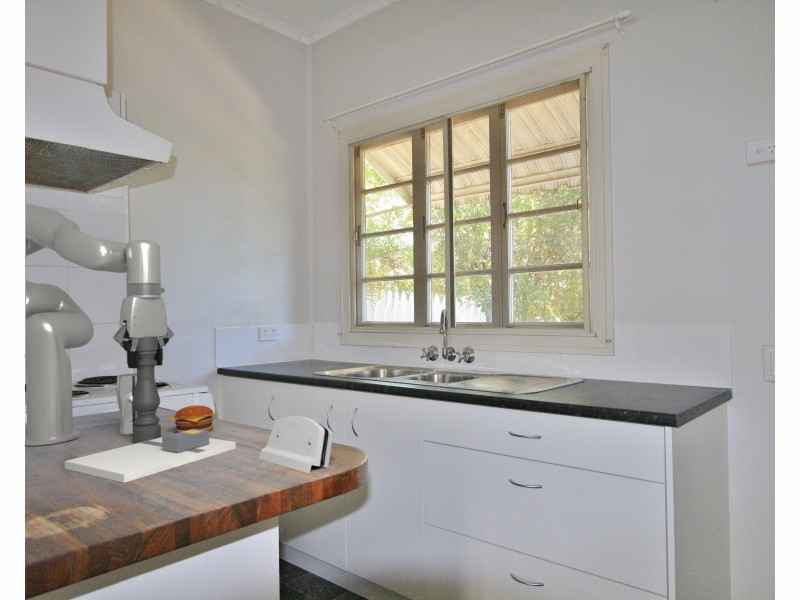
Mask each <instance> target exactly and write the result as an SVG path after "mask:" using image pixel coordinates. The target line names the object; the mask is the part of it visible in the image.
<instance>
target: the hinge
mask: <svg viewBox="0 0 800 600" xmlns="http://www.w3.org/2000/svg"><path fill="white" fill-rule="evenodd" d="M333 436H334V432H333V430H331V429H330V427H328V426H326V425H325V424H323V423H322V422H320V421H318V420H316V419H313V418H311V417H310V418H309V417H305V416H300V415H291V416H284V417H283V416H282V417H281V418H278V419H276V420H275V421H274V423H273V426H272V429H271V431H270V434H269V437H268V440H267V443H266V446H264V447H262V448H261V450H260V453H259V457H258V460H261V461H265V462H268V463H271V464H275V465H279V466H282V467H284V468H285V467H286V468H288V469H292V470H295V471H300V472H303V473H306V474H308V473H309V474H310V472H311V470H312V466H315V467H322V468H328V467H329V466H330V459H331V458H330V457H331V451H332V443H333V438H334V437H333Z"/></svg>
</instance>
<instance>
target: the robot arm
mask: <svg viewBox="0 0 800 600" xmlns="http://www.w3.org/2000/svg"><path fill="white" fill-rule="evenodd" d="M25 204H26V256H25V257H27V256H29V255H32V254H34V253H37V252H39V251H40V250H41V251H42V250H43V249H45V248H47V249H49V250H51V251H54V252H55V253H56V254H57V255H58V256H59V257H60V258H62V259H64V260H66V261H68V262H70V263H73V264H75V265H78V266H80V267H82V268H86V269H87V270H88V269H89V270H91V271H96V272H99V271H100V272H108V273H118V274H126V279H125V280H126V282H125V283H126V284H125V285H126V297H123V298H122V303H121V305H120V314H119V324H118V325H119V327H118V330H117V331H116V332H115V334H114V335H113V337H112V339H113V340H114V341H115V342H117V343H118V344H119V345H120V346H121V348H123V349H124V351H125V352H126V364H127V368H128V369H134V370H135V369H137V368H138V367H139V363H138V351H136V347H137V344H138V341H139V339H141V338H145V337H158V350H157V353H156V355H155V357H154V360H156V361H157V364H156V365H155V366H159V367H161V366H163V360H164V349H166V345H167V344H168V343H169V341H170V340H171V339H172V338H173V336H174V335H175V333H174V332H173V330H172V329H171V328H170V327H169V326H168V319H167V318H168V316H167V309H166V304H165V300H164V297H162V294H164V293H165V292H166V291H165V287H162V282H161V280H162V279H161V247H160V245H159V243H158V242H157V241H153V240H147V239H146V240H143V239H142V240H141V239H140V240H139V239H138V240H136V239H135V240H131V241H128V242H127V243H125V242H119V241H115V240H110V239H109V240H108V239H103V238H98V237H96V236H92V235H90V234H87V233H85V232H83V231H81V229H80V226H79V225H78V223H77V222H75V221H73V220H71V219H70V218H69V219H68V218H67V217H66V216H65V215H64V214H62V213H61V212H60V211H58V210H56V209H52V208H48V207H44V206H40V205H35V204H30V203H25ZM94 332H95V328H94V324H93V322H92V320H91V318H90V317H89V316H88V315H87V313H85V311H84V310H83V309H82V307H80V306H79V305H78V304H77V302H76V301H75V300H74V299H73V298H72V297H71V296H70V295H69V294H68V293H67V292H66V291H65V290H64V289H63V288H61V287H59V286H57V285H53V284H50V283H40V282H39V283H38V282H32V281H30V280H29V279H27V278H26V364H25V384H26V386H25V387H26V388H25V389H26V390H25V391H26V392H25V393H26V425H25V429H26V435H25V436H26V445H25V446H26V447H27V446H30V447H31V446H46V445H54V444H55V445H56V444H60V443H65V442H68V441H72V440H76V439H77V438H79V437H80V436H81V432H80V430H77V429H74V426H73V422H74V421H73V420H74V418H73V376H72V374H73V373H72V365H71V364H72V363H71V360H70V358H69V356H68V354H67V352H66V351H67V350H69V349H77V348H81V347H84V346H86V345H87V344H89V343H90V342H91V340H92V339H93V337H94V334H95V333H94Z"/></svg>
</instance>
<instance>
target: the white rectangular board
mask: <svg viewBox="0 0 800 600" xmlns="http://www.w3.org/2000/svg"><path fill="white" fill-rule="evenodd" d="M162 437H163V436H161V438H157V439H153V440H149V441H143V442H139V443H136V444H134V443H133V444H129V445H124V446H121V447H116V448H112V449H108V450H104V451H100V452H95V453H92V454H88V455H85V456H80V457H76V458H72V459H68V460H65V461H64V469H66V470H68V471H74V472H78V473H81V474H86V475H90V476H94V477H98V478H103V479H106V480H111V481H116V482H118V483H119V482H120V483H124V484H125V483H127V482H128V483H129V482H132V481H134V480H138V479H141V478H144V477H148V476H151V475H154V474H157V473H161V472H163V471H168V470H171V469H174V468H177V467H180V466H184V465H187V464H190V463H194V462H197V461H199V460H200V461H201V460H203V459H206V458H210V457H213V456H216V455H219V454H220V455H221V454H223V453H226V452H229V451H233V450H236V441H231V440H225V439H217V438H211V437H209V444H207V445H203V446H199V447H196V448H192V449H189V450H185V451H182V452H178V453H177V452H171V451H166V450H162Z"/></svg>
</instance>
